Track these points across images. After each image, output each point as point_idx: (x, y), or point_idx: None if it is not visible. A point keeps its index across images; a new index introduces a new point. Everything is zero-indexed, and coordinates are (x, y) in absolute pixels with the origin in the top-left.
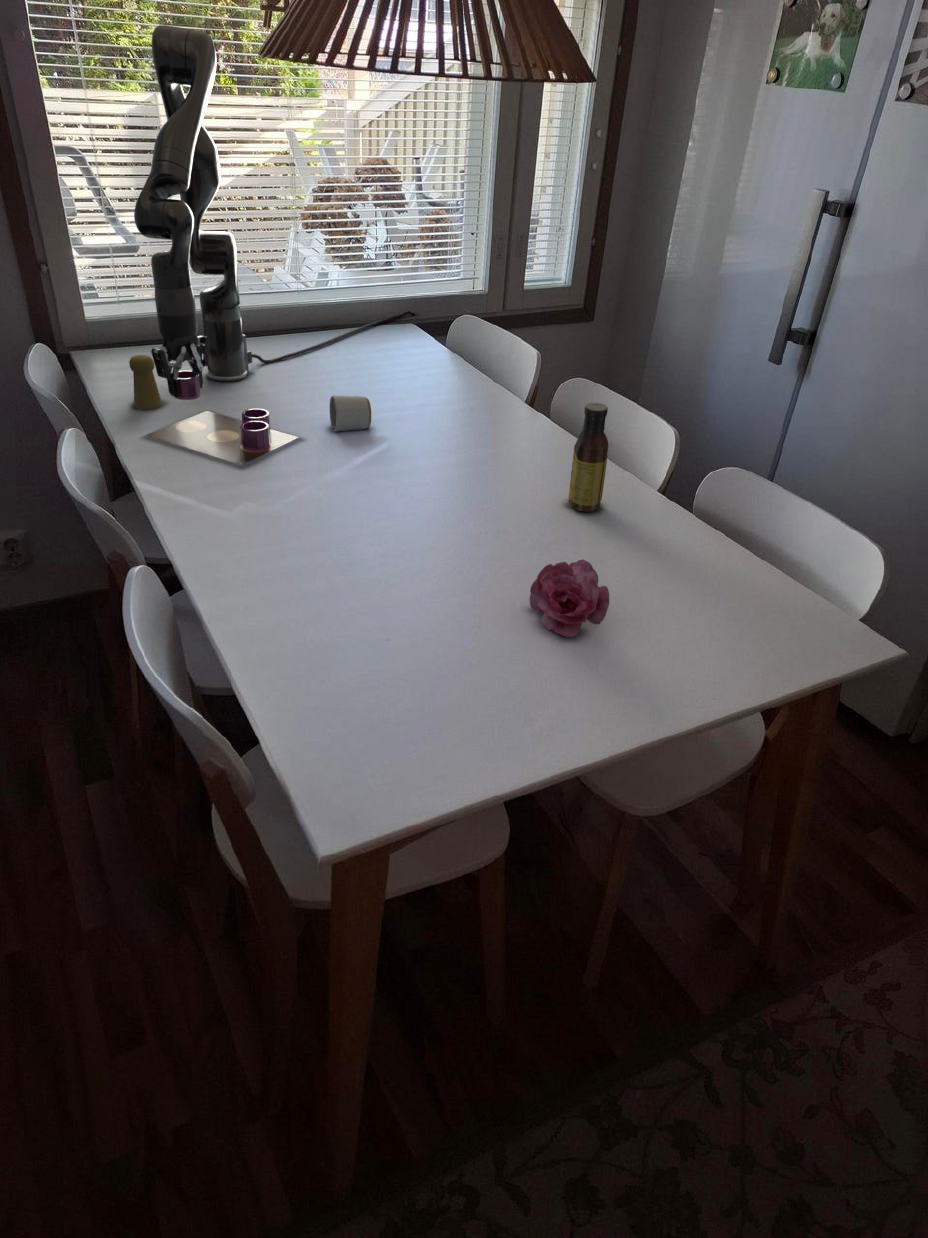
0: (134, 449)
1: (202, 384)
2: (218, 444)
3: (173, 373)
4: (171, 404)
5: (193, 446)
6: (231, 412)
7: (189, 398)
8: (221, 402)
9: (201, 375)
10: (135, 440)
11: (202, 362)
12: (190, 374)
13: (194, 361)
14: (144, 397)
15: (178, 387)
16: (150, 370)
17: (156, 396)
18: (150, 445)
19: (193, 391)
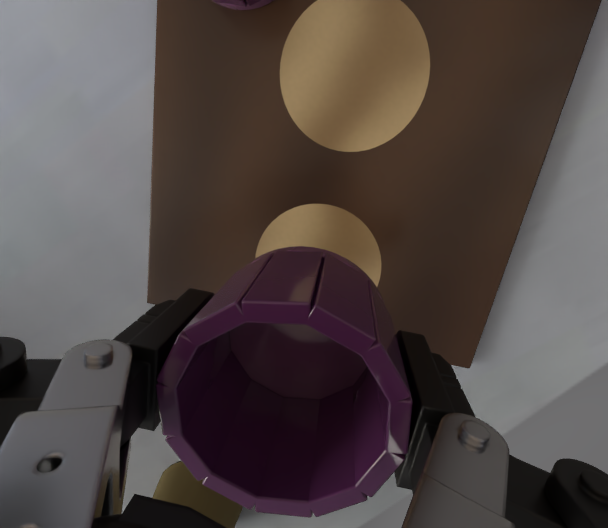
0: (590, 340)
1: (171, 301)
2: (458, 28)
3: (506, 479)
4: (157, 440)
5: (522, 127)
6: (92, 222)
7: (368, 276)
8: (40, 310)
9: (133, 333)
10: (502, 381)
11: (16, 392)
12: (192, 402)
13: (118, 447)
14: (220, 521)
15: (422, 364)
16: None
17: (183, 496)
18: (532, 311)
19: (340, 271)
